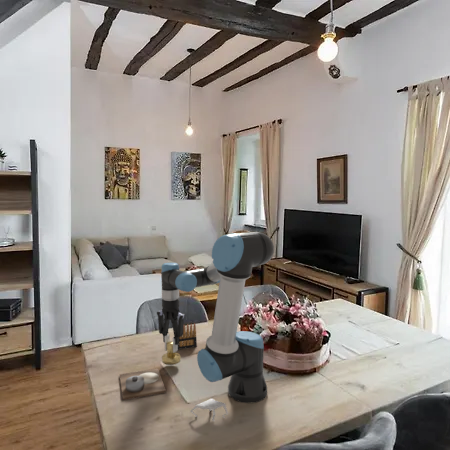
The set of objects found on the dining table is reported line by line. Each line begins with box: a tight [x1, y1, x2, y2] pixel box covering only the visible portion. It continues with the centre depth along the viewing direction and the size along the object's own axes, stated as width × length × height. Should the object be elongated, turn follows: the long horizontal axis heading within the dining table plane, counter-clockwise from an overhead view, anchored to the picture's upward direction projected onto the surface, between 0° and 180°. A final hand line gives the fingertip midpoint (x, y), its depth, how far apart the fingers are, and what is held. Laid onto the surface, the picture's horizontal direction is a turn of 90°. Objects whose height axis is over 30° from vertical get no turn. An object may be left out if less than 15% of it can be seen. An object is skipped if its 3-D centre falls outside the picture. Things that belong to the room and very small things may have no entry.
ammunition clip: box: [178, 322, 198, 350], centre depth 180 cm, size 11×2×12 cm, turn 110°
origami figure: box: [189, 397, 229, 422], centre depth 125 cm, size 12×8×5 cm
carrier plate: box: [119, 368, 167, 401], centre depth 145 cm, size 18×16×5 cm
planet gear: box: [161, 340, 181, 366], centre depth 160 cm, size 8×8×8 cm
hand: (171, 350), depth 160 cm, fingers closed on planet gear, 3 cm apart
